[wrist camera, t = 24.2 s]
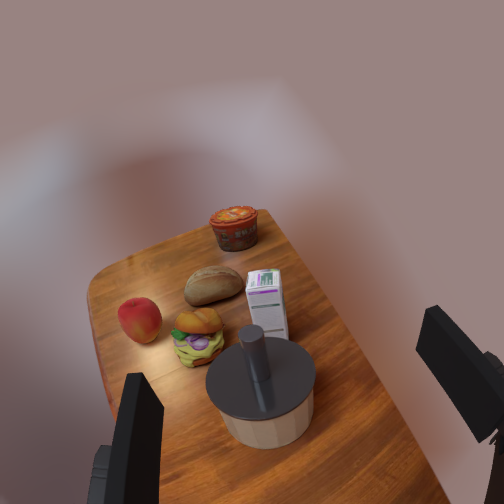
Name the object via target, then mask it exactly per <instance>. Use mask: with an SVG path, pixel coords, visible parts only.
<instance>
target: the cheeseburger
mask: <svg viewBox="0 0 504 504" xmlns="http://www.w3.org/2000/svg"><path fill="white" fill-rule="evenodd" d="M225 326H226V325H225V324H223V322H222V319H221V317H220V315H219V314H218V312H217V311H215V310H213V309H211V308H200V309H197V310H195V311H193V312H190V311H185V312H182V313H181V314H180V315H178V317H177V319H176V321H175V328H174V330H176V331H171V335H173V337H174V344H175V345H174V351H175V353H176V354H177V355H178V357H179V358H180V360H181V362H182V364H184V365H185V366H187V367H191V368H192V367H194V365H195V366H197V365H201V364H205V363H207V362H210V361H212V360H214V359H215V358H216V357H217V356H218V355H219V354H220V353H221V351H222V349H223V344H224V339H223V336H222V335H223V332H222V329H223V328H224V327H225Z"/></svg>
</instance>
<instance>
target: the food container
mask: <svg viewBox="0 0 504 504" xmlns="http://www.w3.org/2000/svg"><path fill="white" fill-rule="evenodd" d="M257 216H258V212H257V210H255V209H253V208H252V207H249V206H243V207H241V206H236V207H230V208H229V209H223V210H220V211H218V212H216V213H215V215H212V216H211V218H210V220H209V223H210V224H211V225H212V227H213V230H214V233H215V235H216V238H217V241H218V243H219V246H220V248H221V249H222V250H224V251H229V252H232V251H233V252H234V251H241V250H244V249H247V248H250V247H252V246H253V245H254V244H256V242H257Z"/></svg>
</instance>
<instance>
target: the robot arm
mask: <svg viewBox="0 0 504 504" xmlns="http://www.w3.org/2000/svg"><path fill="white" fill-rule="evenodd" d="M416 351H417V352H418V354H419V355H420V357H421V358H422V359H423V361H424V362H425V363H426V365H427V366H428V368H429V369H430V370H431V372H432V373H433V374H434V376H435V377H436V379H437V380H438V382H439V383H440V385H441V386H442V387H443V389H444V390H445V392H446V393H447V395H448V396H449V398H450V399H451V401H452V402H453V404H454V405H455V407H456V408H457V410H458V411H459V413H460V414H461V416H462V417H463V419H464V420H465V422H466V423H467V425H468V427H469V428H470V430H471V432H472V433H473V435H474V436H475V438H476V440H477V441H478V443H480V442H482V441H483V440H484V439H486V438H487V437H489V436H490V435H491V434H492V433H493V432H494V430H495V429H496V428H497V429H498V432H497V433H496V434H495V435H494V437H493V438H492V439H491V441H490V443H489V444H490V445H491V444H492V443H493V442H494V441H495V440H496V442H495V443H494V445H495V453H494V459H493V465H492V470H491V475H490V481H489V485H488V489H487V494H486V498H485V502H484V504H504V366H503V364H502V362H501V361H500V360H499V359H498V358H497V356H495V355H493V354H492V353H490V352H488V351H487V352H486V353H484V354H483V353H482V352H481V351H480V350H479V349H478V348H477V346H476V345H475V344H474V343H473V342H472V341H471V340H470V339H469V338H468V337H467V335H466V334H465V333H464V332H463V331H462V330H461V329H460V328H459V327H458V326H457V325H456V324H455V322H453V320H452V319H451V318H450V317H449V316H448V315H447V314H446V313H445V312H444V311H443V310H442V309H441V308H440V307H439V306H438V305H436V306H433V307H430V308H427V309H426V310H425V314H424V319H423V323H422V327H421V331H420V335H419V339H418V343H417V346H416ZM163 417H164V406H163V405H162V403H161V402H160V400H159V399H158V397H157V396H156V394H155V392H154V391H153V389H152V388H151V386H150V384H149V383H148V381H147V379H146V378H145V376H144V374H143V373H142V372H140V373H128V374H127V376H126V380H125V385H124V389H123V393H122V398H121V402H120V407H119V411H118V416H117V421H116V426H115V431H114V437H113V442H112V446H108V445H101V446H100V448H99V449H98V451H97V453H96V454H95V458H94V463H93V467H94V468H93V469H92V477H91V481H90V487H89V493H88V501H87V504H159V477H160V457H161V442H162V429H163Z"/></svg>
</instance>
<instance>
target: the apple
mask: <svg viewBox="0 0 504 504" xmlns="http://www.w3.org/2000/svg"><path fill="white" fill-rule="evenodd" d="M118 319H119V322H120V325H121V327H122V329H123V331H124V332H125V333H126V335H127V336H128V337H130V338H131V339H132V340H133V341H135V342H138V343H148V342H151V341H153V340H154V339H155V338H156V336H157V335H158V333H159V331H160V329H161V326H162V316H161V313H160V310H159V308H158V307H157V305H156V304H155V303H154V302H153V301H152V300H150V299H148V298H144V297H141V298H132V299H130V300H128V301H126V302H125V303H123V304H122V305H121V306H120V307H119V309H118Z"/></svg>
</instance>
